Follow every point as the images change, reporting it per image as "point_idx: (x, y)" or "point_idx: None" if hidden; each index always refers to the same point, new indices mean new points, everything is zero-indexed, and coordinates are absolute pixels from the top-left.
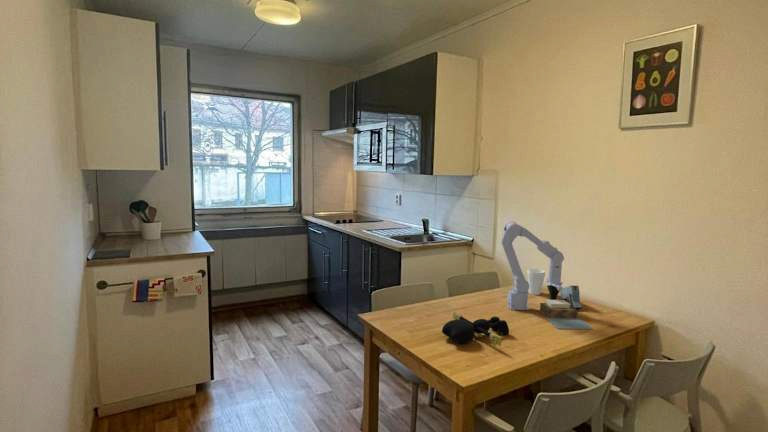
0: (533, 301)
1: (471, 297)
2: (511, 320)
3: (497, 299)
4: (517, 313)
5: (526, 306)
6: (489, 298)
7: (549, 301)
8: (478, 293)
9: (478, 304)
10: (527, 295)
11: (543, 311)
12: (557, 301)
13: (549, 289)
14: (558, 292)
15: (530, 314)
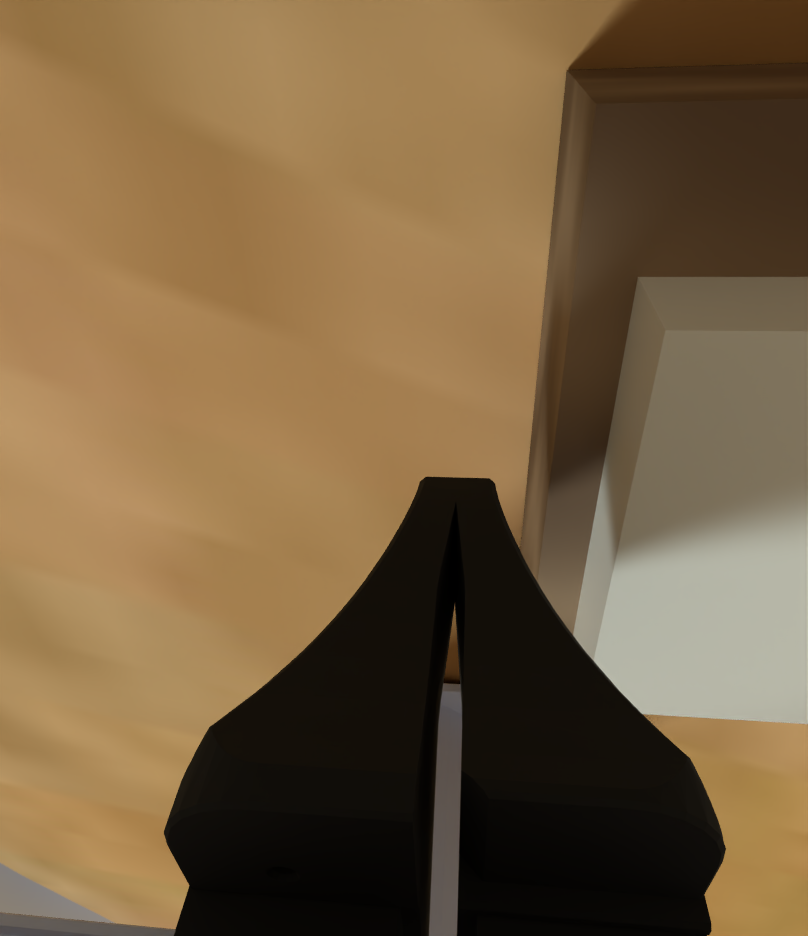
0: (69, 522)
1: (165, 910)
2: (790, 876)
3: (150, 805)
4: None
5: (461, 737)
6: (143, 840)
7: (707, 704)
8: (19, 860)
9: None
10: (445, 912)
11: None
12: (755, 570)
13: (430, 865)
14: (586, 662)
15: (655, 717)
